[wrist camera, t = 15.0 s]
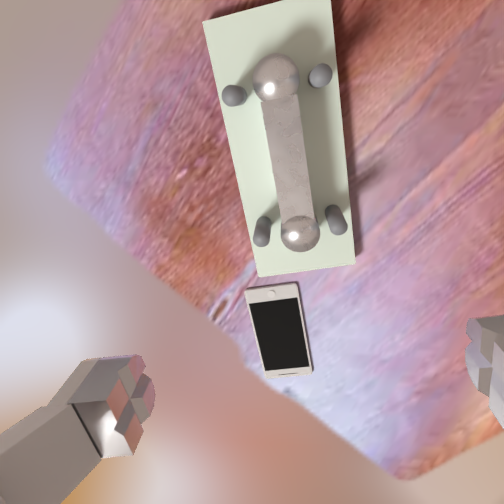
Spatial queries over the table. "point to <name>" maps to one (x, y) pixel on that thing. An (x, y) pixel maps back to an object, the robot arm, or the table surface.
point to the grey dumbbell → (287, 149)
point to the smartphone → (279, 330)
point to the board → (312, 119)
